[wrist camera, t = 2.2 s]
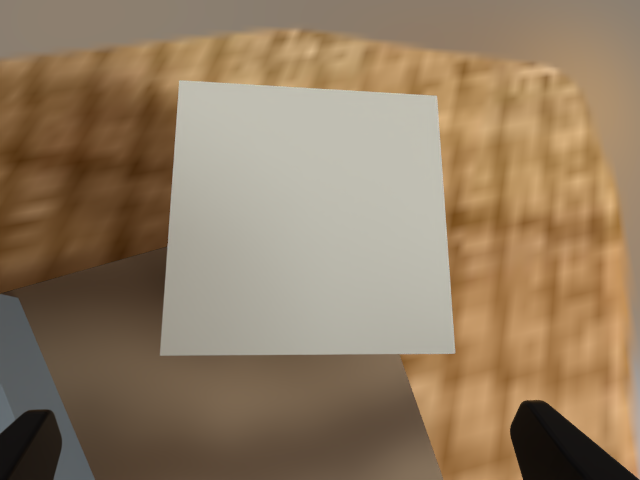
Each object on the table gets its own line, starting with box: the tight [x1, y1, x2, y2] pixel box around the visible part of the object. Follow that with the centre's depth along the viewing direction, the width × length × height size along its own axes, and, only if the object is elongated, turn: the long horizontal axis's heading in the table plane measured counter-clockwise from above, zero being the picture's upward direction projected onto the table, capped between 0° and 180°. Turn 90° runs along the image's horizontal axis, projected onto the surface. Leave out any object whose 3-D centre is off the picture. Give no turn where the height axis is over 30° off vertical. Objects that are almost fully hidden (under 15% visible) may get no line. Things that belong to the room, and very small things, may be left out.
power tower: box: [160, 80, 455, 356], centre depth 14 cm, size 5×4×12 cm
